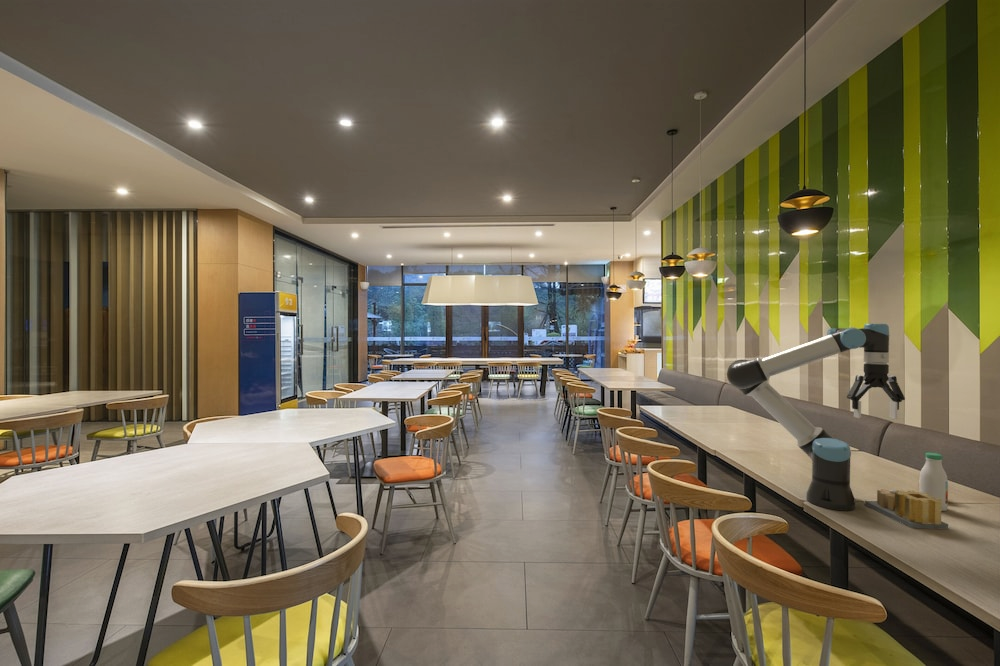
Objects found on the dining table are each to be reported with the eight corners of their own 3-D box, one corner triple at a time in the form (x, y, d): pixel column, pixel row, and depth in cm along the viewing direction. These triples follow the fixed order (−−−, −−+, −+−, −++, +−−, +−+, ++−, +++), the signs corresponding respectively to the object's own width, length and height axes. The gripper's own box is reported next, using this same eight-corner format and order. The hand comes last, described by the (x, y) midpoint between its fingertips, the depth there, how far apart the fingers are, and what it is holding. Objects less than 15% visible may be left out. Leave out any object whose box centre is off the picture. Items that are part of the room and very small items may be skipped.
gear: (915, 523, 151) (915, 501, 151) (889, 511, 161) (889, 490, 161) (947, 524, 151) (948, 502, 151) (919, 512, 161) (920, 491, 161)
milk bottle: (942, 513, 165) (943, 457, 165) (915, 505, 172) (915, 452, 171) (951, 509, 168) (952, 455, 168) (924, 502, 175) (925, 450, 175)
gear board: (910, 527, 152) (911, 505, 152) (864, 504, 172) (865, 485, 172) (948, 528, 151) (948, 506, 151) (897, 505, 171) (897, 486, 171)
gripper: (850, 363, 174) (849, 419, 174) (917, 364, 173) (916, 420, 173) (836, 362, 181) (835, 415, 181) (900, 363, 181) (900, 416, 181)
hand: (875, 418), depth 177 cm, fingers open, 13 cm apart
